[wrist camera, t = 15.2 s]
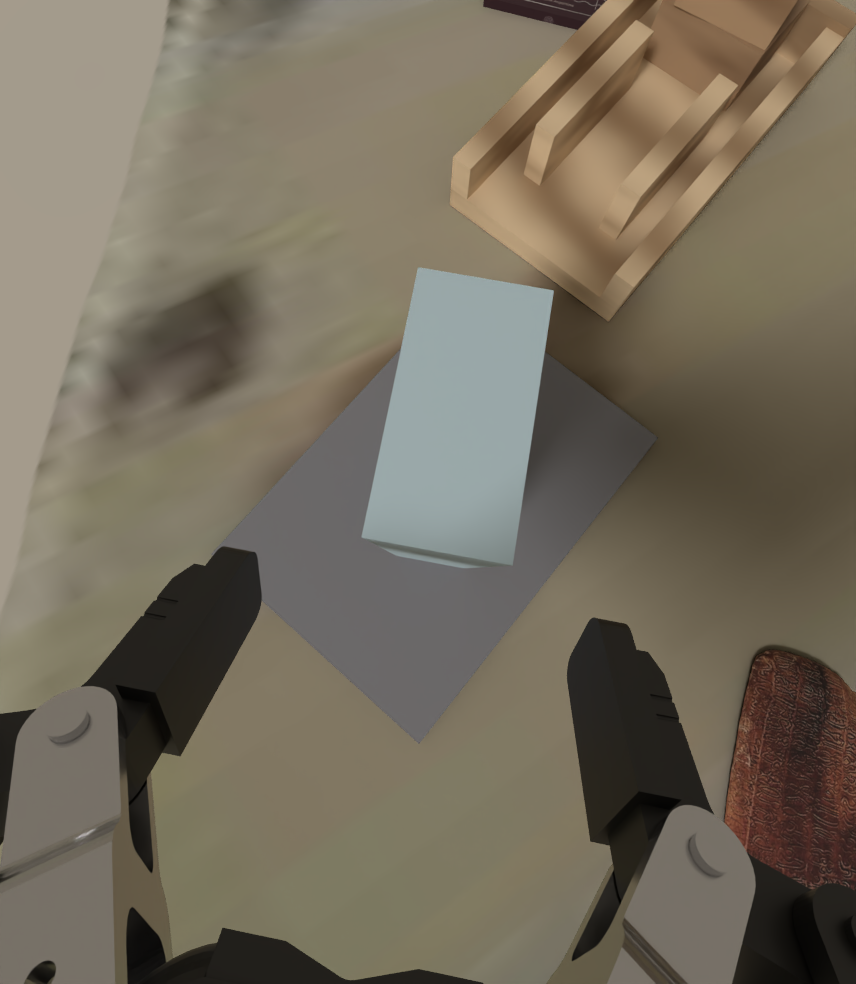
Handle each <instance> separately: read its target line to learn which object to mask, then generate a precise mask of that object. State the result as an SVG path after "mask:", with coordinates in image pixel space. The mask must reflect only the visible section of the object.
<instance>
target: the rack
mask: <svg viewBox="0 0 856 984" xmlns="http://www.w3.org/2000/svg"><path fill="white" fill-rule="evenodd" d="M662 1H663V0H607V1H606V2H605V3H604V4H603V5H602V6H601V7H600V8H599V9H598V10H597V11H596V12H595V13H594V14H593V15H592V16H591V17H590V18H589V19H588V20H587V21H586V22H585V23H584V24H583V25H582V26H581V27H580V28H579V29H578V30H577V31H576V32H575V33H574V34H573V35H572V36H571V37H570V38H569V39H568V40H567V42H566V43H565V44H564V45H563V46H562V47H561V48H560V49H559V50H558V51H557V52H556V53H555V54H554V55H553V56H552V57H551V58H550V59H549V60H548V61H547V62H546V63H545V64H544V65H543V66H542V67H541V68H540V69H539V70H538V71H537V72H536V73H535V74H534V75H533V76H532V77H531V78H530V79H529V80H528V81H527V82H526V83H525V84H524V85H523V86H522V87H521V88H520V89H519V90H518V91H517V92H516V94H515V95H514V96H513V97H512V98H511V99H510V100H509V101H508V102H507V103H506V104H505V105H504V106H503V107H502V108H501V109H500V110H499V111H498V112H497V113H496V114H495V115H494V116H493V117H492V118H491V119H490V120H489V121H488V122H487V123H486V124H485V125H484V126H483V127H482V128H481V129H480V130H479V131H478V132H477V133H476V134H475V135H474V136H473V137H472V138H471V139H470V140H469V141H468V142H467V143H466V145H465V146H464V147H463V148H462V149H461V150H460V151H459V152H458V153H457V154H456V155H455V156H454V157H453V167H452V182H451V196H450V205H451V206H452V207H454V208H455V209H456V210H458V211H459V212H460V213H462V214H463V215H464V216H466V217H467V218H469V219H470V220H471V221H473V222H474V223H475V224H477V225H478V226H479V227H481V228H482V229H483V230H485V231H486V232H488V233H489V234H490V235H492V236H493V237H494V238H496V239H497V240H498V241H500V242H501V243H502V244H504V245H505V246H507V247H508V248H509V249H511V250H512V251H513V252H515V253H516V254H517V255H519V256H520V257H521V258H523V259H524V260H525V261H527V262H528V263H530V264H531V265H532V266H534V267H535V268H536V269H538V270H539V271H540V272H542V273H543V274H544V275H546V276H547V277H549V278H550V279H551V280H553V281H554V282H555V283H557V284H558V285H559V286H561V287H562V288H563V289H565V290H566V291H567V292H569V293H570V294H572V295H573V296H574V297H576V298H577V299H578V300H580V301H581V302H582V303H584V304H585V305H586V306H588V307H589V308H591V309H592V310H593V311H595V312H596V313H597V314H599V315H600V316H601V317H603V318H604V319H605V320H607V321H608V322H609V321H610V319H611V318H612V317H613V316H614V315H615V314H616V312H617V311H618V310H619V309H620V308H621V306H622V305H623V304H624V303H625V302H626V301H627V299H628V298H629V297H630V296H631V295H632V293H633V292H634V291H635V290H636V289H637V287H638V286H639V285H640V284H641V283H642V282H643V280H644V279H645V278H646V277H647V276H648V274H649V273H650V272H651V271H652V270H653V268H654V267H655V266H656V265H657V264H658V263H659V261H660V260H661V259H662V258H663V257H664V255H665V254H666V253H667V252H668V251H669V249H670V248H671V247H672V246H673V245H674V244H675V242H676V241H677V240H678V239H679V238H680V236H681V235H682V234H683V233H684V232H685V230H686V229H687V228H688V227H689V226H690V225H691V223H692V222H693V221H694V220H695V219H696V217H697V216H698V215H699V214H700V213H701V211H702V210H703V209H704V208H705V207H706V206H707V204H708V203H709V202H710V201H711V200H712V198H713V197H714V196H715V195H716V194H717V193H718V191H719V190H720V189H721V188H722V187H723V185H724V184H725V183H726V182H727V181H728V179H729V178H730V177H731V176H732V175H733V174H734V172H735V171H736V170H737V169H738V168H739V166H740V165H741V164H742V163H743V162H744V160H745V159H746V158H747V157H748V156H749V155H750V153H751V152H752V151H753V150H754V149H755V147H756V146H757V145H758V144H759V143H760V141H761V140H762V139H763V138H764V137H765V136H766V134H767V133H768V132H769V131H770V130H771V128H772V127H773V126H774V125H775V124H776V122H777V121H778V120H779V119H780V118H781V117H782V115H783V114H784V113H785V112H786V111H787V109H788V108H789V107H790V106H791V105H792V103H793V102H794V101H795V100H796V99H797V98H798V96H799V95H800V94H801V93H802V92H803V90H804V89H805V88H806V87H807V86H808V84H809V83H810V82H811V81H812V79H813V78H814V77H815V76H816V74H817V73H818V72H819V71H820V69H821V68H822V67H823V65H824V64H825V63H826V62H827V60H828V59H829V58H830V57H831V55H832V54H833V53H834V52H835V50H836V49H837V48H838V46H839V45H840V44H841V43H842V41H843V40H844V39H845V38H846V36H847V35H848V34H849V33H850V31H851V30H852V29H853V27H854V26H855V25H856V13H854V12H853V11H851V10H849V9H848V8H846V7H844V6H843V5H841V4H839V3H838V2H836V1H834V0H810V2H809V3H808V5H807V6H806V8H805V9H804V11H803V12H802V14H801V15H800V17H799V18H798V20H797V21H796V22H795V24H794V25H793V27H792V28H791V30H790V31H789V33H788V34H787V36H786V37H785V39H784V40H783V42H782V43H781V45H780V46H779V48H778V49H777V51H776V52H775V54H774V55H773V56H772V58H771V59H770V61H769V62H768V63H767V64H766V65H765V67H764V68H763V69H762V70H761V71H760V72H759V73H758V75H757V76H756V77H755V78H754V79H753V80H752V81H751V83H750V84H749V85H748V86H747V87H746V88H745V90H744V91H743V92H742V93H741V94H740V95H739V96H738V98H737V99H736V100H735V101H734V102H733V103H732V104H731V106H730V107H729V108H728V109H727V110H726V111H724V110H723V108H724V107H725V105H726V104H727V102H728V101H729V99H730V97H731V96H732V94H733V93H734V91H735V90H736V88H737V87H738V85H737V84H735V83H734V82H732V81H731V80H729V79H728V78H726V77H725V76H723V75H721V74H720V73H719V75H718V76H717V77H716V78H715V79H714V80H713V81H712V82H711V84H710V85H709V86H708V87H707V88H706V89H705V90H704V91H703V92H702V94H701V95H699V94H698V93H696V92H695V91H693V90H692V89H690V88H689V87H687V86H686V85H684V84H683V83H681V82H680V81H678V80H676V79H675V78H673V77H672V76H670V75H669V74H667V73H666V72H664V71H663V70H661V69H660V68H658V67H657V66H655V65H654V64H652V63H650V62H649V61H647V60H646V59H644V58H643V56H644V54H645V51H646V49H647V47H648V44H649V42H650V40H651V37H652V35H653V33H654V31H653V30H652V29H651V27H652V25H653V22H654V20H655V17H656V15H657V13H658V10H659V8H660V5H661V3H662Z"/></svg>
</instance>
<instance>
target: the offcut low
mask: <svg viewBox="0 0 856 984" xmlns="http://www.w3.org/2000/svg"><path fill="white" fill-rule="evenodd" d="M675 1H676V0H663V1H662V3H661V5H660V8H659V10H658V13H657V15H656V17H655V20H654V22H653V25H652V27H651V29H652V30H653V31H654V33H653V35H652V37H651V40H650V42H649V44H648V47H647V49H646V51H645V54H644V56H643V58H644V59H646V60H647V61H649V62H650V63H652V64H654V65H655V66H657V67H658V68H660V69H661V70H663V71H664V72H666V73H667V74H669V75H670V76H672V77H673V78H675V79H676V80H678V81H680V82H681V83H683V84H684V85H686V86H687V87H689V88H690V89H692V90H693V91H695V92H696V93H698V94H699V95H701V94H702V92H703V91H704V90H705V89H706V88H707V87H708V86H709V85H710V84H711V82H712V81H713V80H714V79H715V78H716V77H717V76H718V75H719V73H720V74H721V75H723V76H725V77H726V78H728V79H729V80H731V81H732V82H734V83H735V84H737V85H738V87H737V88H736V90H735V91H734V93H733V94H732V96H731V97H730V99H729V101H728V102H727V104H726V105H725V107H724V108H723V110H724V111H726V110H727V109H728V108H729V107H730V106H731V104H732V103H733V102H734V101H735V100H736V99H737V98H738V96H739V95H740V94H741V93H742V92H743V91H744V90H745V88H746V87H747V86H748V85H749V84H750V83H751V81H752V80H753V79H754V78H755V77H756V76H757V75H758V73H759V72H760V71H761V70H762V69H763V68H764V67H765V65H766V64H767V63H768V62H769V61H770V59H771V58H772V56H773V55H774V54H775V52H776V51H777V49H778V48H779V46H780V45H781V43H782V42H783V40H784V39H785V37H786V36H787V34H788V33H789V31H790V30H791V28H792V27H793V25H794V24H795V22H796V21H797V20H798V18H799V17H800V15H801V14H802V12H803V11H804V9H805V8H806V6H807V5H808V3H809V2H810V0H798V1H797V2H796V4H795V5H794V7H793V8H792V10H791V12H790V13H789V15H788V16H787V18H786V19H785V21H784V22H783V24H782V25H781V27H780V28H779V30H778V31H777V33H776V34H775V36H774V38H773V39H772V41H771V42H770V44H769V45H768V47H767V48H766V50H763V49H761V48H759V47H757V46H755V45H753V44H751V43H749V42H747V41H745V40H743V39H741V38H739V37H737V36H735V35H733V34H731V33H729V32H727V31H725V30H723V29H721V28H719V27H717V26H715V25H713V24H711V23H709V22H707V21H705V20H703V19H701V18H699V17H697V16H695V15H693V14H691V13H689V12H687V11H685V10H683V9H681V8H679V7H677V6H675V5H674V3H675Z"/></svg>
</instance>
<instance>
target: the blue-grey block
mask: <svg viewBox="0 0 856 984" xmlns="http://www.w3.org/2000/svg"><path fill="white" fill-rule="evenodd" d="M553 293H554V290H548V289H543V288H537V287H531V286H525V285H519V284H513V283H507V282H502V281H496V280H490V279H484V278H478V277H472V276H466V275H460V274H455V273H449V272H443V271H437V270H431V269H425V268H419V267H418V271H417V276H416V280H415V285H414V290H413V295H412V299H411V304H410V309H409V314H408V318H407V323H406V328H405V333H404V337H403V342H402V347H401V352H400V356H399V361H398V366H397V371H396V375H395V380H394V385H393V390H392V394H391V399H390V404H389V409H388V413H387V418H386V423H385V428H384V432H383V437H382V442H381V447H380V452H379V456H378V461H377V466H376V471H375V475H374V480H373V485H372V490H371V494H370V499H369V504H368V509H367V513H366V518H365V523H364V528H363V532H362V538H364V539H366V540H368V541H369V542H371V543H373V544H375V545H377V546H379V547H381V548H383V549H385V550H387V551H388V552H390V553H392V554H394V555H396V556H400V557H406V558H411V559H416V560H422V561H427V562H432V563H438V564H443V565H448V566H454V567H459V568H479V567H496V566H513V560H514V553H515V547H516V540H517V533H518V527H519V520H520V513H521V507H522V500H523V493H524V487H525V480H526V473H527V467H528V460H529V453H530V447H531V440H532V433H533V427H534V420H535V413H536V406H537V400H538V393H539V386H540V380H541V373H542V366H543V360H544V353H545V346H546V340H547V333H548V326H549V320H550V313H551V306H552V300H553Z"/></svg>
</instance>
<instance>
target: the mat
mask: <svg viewBox="0 0 856 984" xmlns="http://www.w3.org/2000/svg"><path fill="white" fill-rule="evenodd" d="M400 352H401V349H400V350H399V351H398V352H397V353H396V354H395V355H394V357H393V358H392V359H391V360H390V361H389V362H388V363H387V364H386V365H385V366H384V367H383V369H382V370H381V371H380V372H379V373H378V374H377V375H376V376H375V377H374V378H373V379H372V380H371V382H370V383H369V384H368V385H367V386H366V387H365V388H364V389H363V390H362V391H361V392H360V393H359V395H358V396H357V397H356V398H355V399H354V400H353V401H352V402H351V403H350V404H349V405H348V406H347V408H346V409H345V410H344V411H343V412H342V413H341V414H340V415H339V416H338V417H337V418H336V419H335V421H334V422H333V423H332V424H331V425H330V426H329V427H328V428H327V429H326V430H325V431H324V432H323V434H322V435H321V436H320V437H319V438H318V439H317V440H316V441H315V442H314V443H313V444H312V445H311V447H310V448H309V449H308V450H307V451H306V452H305V453H304V454H303V455H302V456H301V457H300V458H299V460H298V461H297V462H296V463H295V464H294V465H293V466H292V467H291V468H290V469H289V470H288V471H287V473H286V474H285V475H284V476H283V477H282V478H281V479H280V480H279V481H278V482H277V483H276V485H275V486H274V487H273V488H272V489H271V490H270V491H269V492H268V493H267V494H266V495H265V496H264V498H263V499H262V500H261V501H260V502H259V503H258V504H257V505H256V506H255V507H254V508H253V509H252V511H251V512H250V513H249V514H248V515H247V516H246V517H245V518H244V519H243V520H242V521H241V522H240V524H239V525H238V526H237V527H236V528H235V529H234V530H233V531H232V532H231V533H230V534H229V535H228V537H227V538H226V539H225V540H224V541H223V542H222V543H221V544H220V545H219V546H218V547H217V548H216V550H215V551H214V552H213V553H212V555H214V554H215V552H216V551H217V550H218V549H219V548H221V547H223V546H226V547H231V548H236V549H242V550H247V551H252V552H255V553H256V554H257V557H258V565H259V574H260V583H261V592H262V601H263V602H264V603H265V604H266V605H267V606H269V607H270V608H271V609H272V610H273V611H274V612H275V613H276V614H277V615H278V616H279V617H281V618H282V619H283V620H284V621H285V622H286V623H287V624H288V625H289V626H290V627H292V628H293V629H294V630H295V631H296V632H297V633H298V634H299V635H300V636H301V637H302V638H304V639H305V640H306V641H307V642H308V643H309V644H310V645H311V646H312V647H313V648H315V649H316V650H317V651H318V652H319V653H320V654H321V655H322V656H323V657H324V658H325V659H327V660H328V661H329V662H330V663H331V664H332V665H333V666H334V667H335V668H336V669H338V670H339V671H340V672H341V673H342V674H343V675H344V676H345V677H346V678H347V679H348V680H350V681H351V682H352V683H353V684H354V685H355V686H356V687H357V688H358V689H359V690H361V691H362V692H363V693H364V694H365V695H366V696H367V697H368V698H369V699H370V700H371V701H373V702H374V703H375V704H376V705H377V706H378V707H379V708H380V709H381V710H382V711H384V712H385V713H386V714H387V715H388V716H389V717H390V718H391V719H392V720H393V721H394V722H396V723H397V724H398V725H399V726H400V727H401V728H402V729H403V730H404V731H405V732H406V733H408V734H409V735H410V736H411V737H412V738H413V739H414V740H415V741H416V742H417V743H420V742H421V741H422V739H423V738H424V737H425V736H426V734H427V733H428V732H429V730H430V729H431V728H432V727H433V725H434V724H435V723H436V721H437V720H438V719H439V718H440V716H441V715H442V714H443V712H444V711H445V710H446V709H447V707H448V706H449V705H450V704H451V702H452V701H453V700H454V698H455V697H456V696H457V695H458V693H459V692H460V691H461V689H462V688H463V687H464V686H465V684H466V683H467V682H468V680H469V679H470V678H471V677H472V675H473V674H474V673H475V672H476V670H477V669H478V668H479V666H480V665H481V664H482V663H483V661H484V660H485V659H486V657H487V656H488V655H489V654H490V652H491V651H492V650H493V648H494V647H495V646H496V645H497V643H498V642H499V641H500V640H501V638H502V637H503V636H504V634H505V633H506V632H507V631H508V629H509V628H510V627H511V625H512V624H513V623H514V622H515V620H516V619H517V618H518V616H519V615H520V614H521V613H522V611H523V610H524V609H525V608H526V606H527V605H528V604H529V602H530V601H531V600H532V599H533V597H534V596H535V595H536V593H537V592H538V591H539V590H540V588H541V587H542V586H543V584H544V583H545V582H546V581H547V579H548V578H549V577H550V576H551V574H552V573H553V572H554V570H555V569H556V568H557V567H558V565H559V564H560V563H561V561H562V560H563V559H564V558H565V556H566V555H567V554H568V553H569V551H570V550H571V549H572V547H573V546H574V545H575V544H576V542H577V541H578V540H579V538H580V537H581V536H582V535H583V533H584V532H585V531H586V529H587V528H588V527H589V526H590V524H591V523H592V522H593V521H594V519H595V518H596V517H597V515H598V514H599V513H600V512H601V510H602V509H603V508H604V506H605V505H606V504H607V503H608V501H609V500H610V499H611V497H612V496H613V495H614V494H615V492H616V491H617V490H618V489H619V487H620V486H621V485H622V483H623V482H624V481H625V480H626V478H627V477H628V476H629V474H630V473H631V472H632V471H633V469H634V468H635V467H636V465H637V464H638V463H639V462H640V460H641V459H642V458H643V457H644V455H645V454H646V453H647V451H648V450H649V449H650V448H651V446H652V445H653V444H654V442H655V441H656V440H657V439H658V437H657V436H655V435H654V434H653V433H651V432H650V431H649V430H647V429H646V428H645V427H644V426H642V425H641V424H640V423H638V422H637V421H636V420H634V419H633V418H632V417H630V416H629V415H628V414H626V413H625V412H624V411H622V410H621V409H620V408H619V407H617V406H616V405H615V404H613V403H612V402H611V401H609V400H608V399H607V398H605V397H604V396H603V395H601V394H600V393H599V392H598V391H596V390H595V389H594V388H592V387H591V386H590V385H588V384H587V383H586V382H584V381H583V380H582V379H580V378H579V377H578V376H576V375H575V374H574V373H573V372H571V371H570V370H569V369H567V368H566V367H565V366H563V365H562V364H561V363H559V362H558V361H557V360H555V359H554V358H553V357H552V356H550V355H549V354H548V353H546V352H545V353H544V360H543V366H542V373H541V380H540V386H539V393H538V400H537V406H536V413H535V420H534V427H533V433H532V440H531V447H530V453H529V460H528V467H527V473H526V480H525V487H524V493H523V500H522V507H521V513H520V520H519V527H518V533H517V540H516V547H515V553H514V560H513V566H496V567H479V568H459V567H454V566H448V565H443V564H438V563H432V562H427V561H422V560H416V559H411V558H406V557H400V556H396V555H394V554H392V553H390V552H388V551H387V550H385V549H383V548H381V547H379V546H377V545H375V544H373V543H371V542H369V541H368V540H366V539H364V538H362V532H363V528H364V523H365V518H366V513H367V509H368V504H369V499H370V494H371V490H372V485H373V480H374V475H375V471H376V466H377V461H378V456H379V452H380V447H381V442H382V437H383V432H384V428H385V423H386V418H387V413H388V409H389V404H390V399H391V394H392V390H393V385H394V380H395V375H396V371H397V366H398V361H399V356H400Z"/></svg>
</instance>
